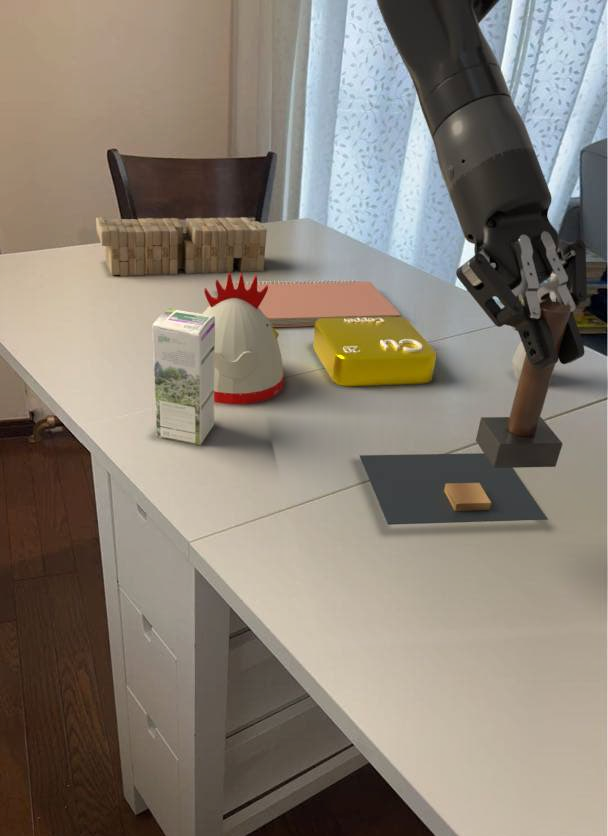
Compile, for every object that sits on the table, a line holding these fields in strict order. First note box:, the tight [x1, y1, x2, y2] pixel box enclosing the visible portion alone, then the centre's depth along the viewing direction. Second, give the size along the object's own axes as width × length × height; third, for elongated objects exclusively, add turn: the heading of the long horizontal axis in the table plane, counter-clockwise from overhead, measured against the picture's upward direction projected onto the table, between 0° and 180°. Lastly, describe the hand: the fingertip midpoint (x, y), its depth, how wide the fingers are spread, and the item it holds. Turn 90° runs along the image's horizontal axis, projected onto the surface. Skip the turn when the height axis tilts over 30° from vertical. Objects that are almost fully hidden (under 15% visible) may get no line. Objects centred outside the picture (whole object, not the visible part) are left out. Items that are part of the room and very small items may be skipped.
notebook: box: [220, 279, 402, 328], centre depth 134 cm, size 27×17×2 cm, turn 105°
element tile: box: [312, 316, 437, 387], centre depth 117 cm, size 15×15×5 cm
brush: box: [475, 301, 571, 469], centre depth 70 cm, size 6×5×14 cm
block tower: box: [95, 217, 268, 277], centre depth 144 cm, size 8×8×29 cm
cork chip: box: [444, 483, 491, 511], centre depth 88 cm, size 4×4×1 cm
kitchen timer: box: [202, 272, 285, 405], centre depth 106 cm, size 14×14×15 cm
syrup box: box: [151, 308, 215, 446], centre depth 94 cm, size 6×6×14 cm
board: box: [359, 452, 548, 525], centre depth 91 cm, size 18×14×1 cm
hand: (560, 362), depth 67 cm, fingers closed on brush, 2 cm apart
